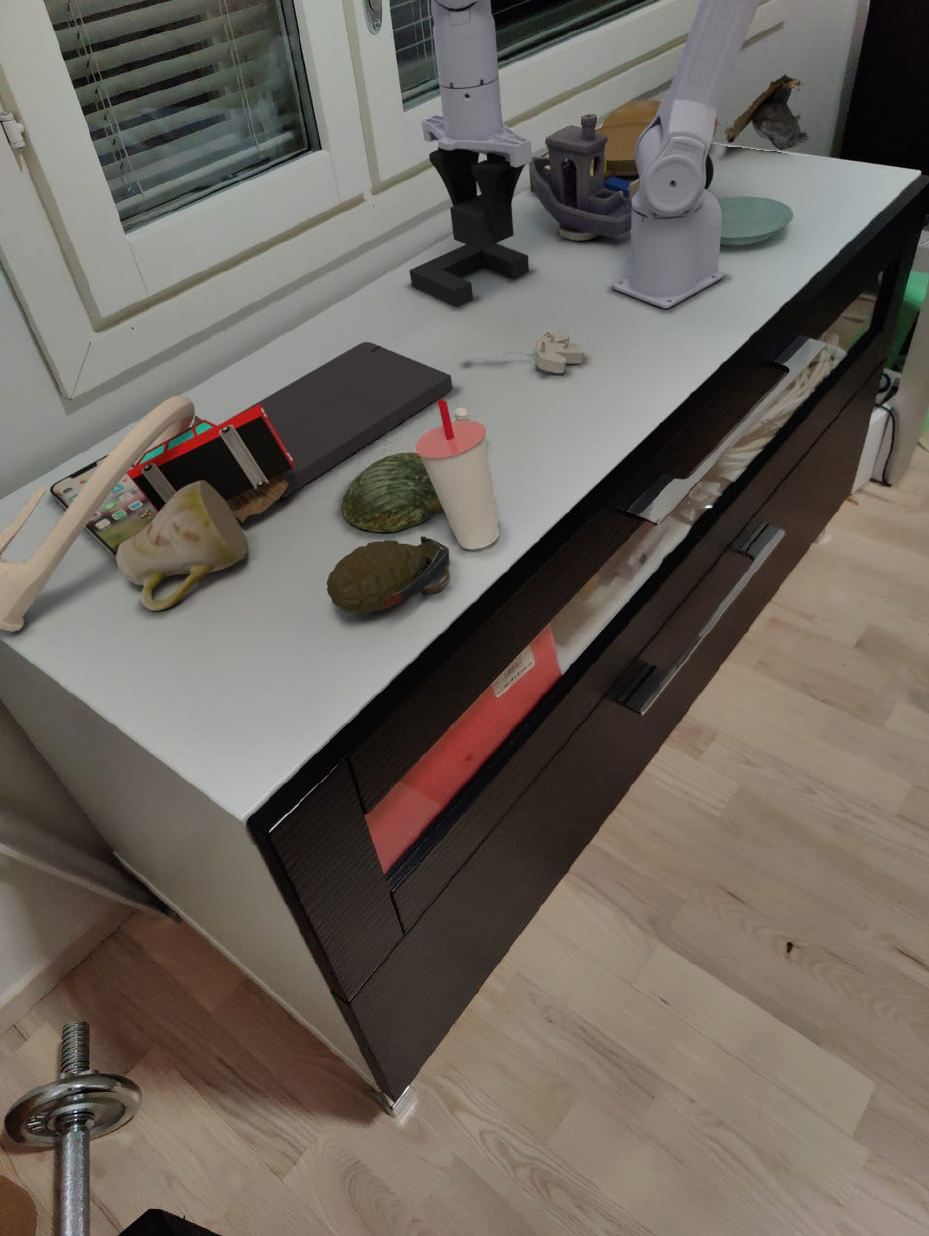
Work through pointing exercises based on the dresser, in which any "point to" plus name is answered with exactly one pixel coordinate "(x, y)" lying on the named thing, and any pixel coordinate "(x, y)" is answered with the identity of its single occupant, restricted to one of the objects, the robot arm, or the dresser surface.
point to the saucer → (751, 219)
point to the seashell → (391, 495)
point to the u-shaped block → (465, 271)
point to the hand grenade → (386, 574)
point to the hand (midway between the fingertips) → (482, 223)
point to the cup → (462, 478)
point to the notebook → (348, 406)
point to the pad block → (476, 225)
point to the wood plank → (255, 495)
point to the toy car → (214, 458)
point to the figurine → (772, 116)
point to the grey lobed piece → (555, 352)
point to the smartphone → (109, 507)
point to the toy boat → (579, 184)
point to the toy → (606, 181)
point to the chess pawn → (461, 414)
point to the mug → (183, 543)
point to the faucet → (80, 510)
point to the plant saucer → (628, 134)
